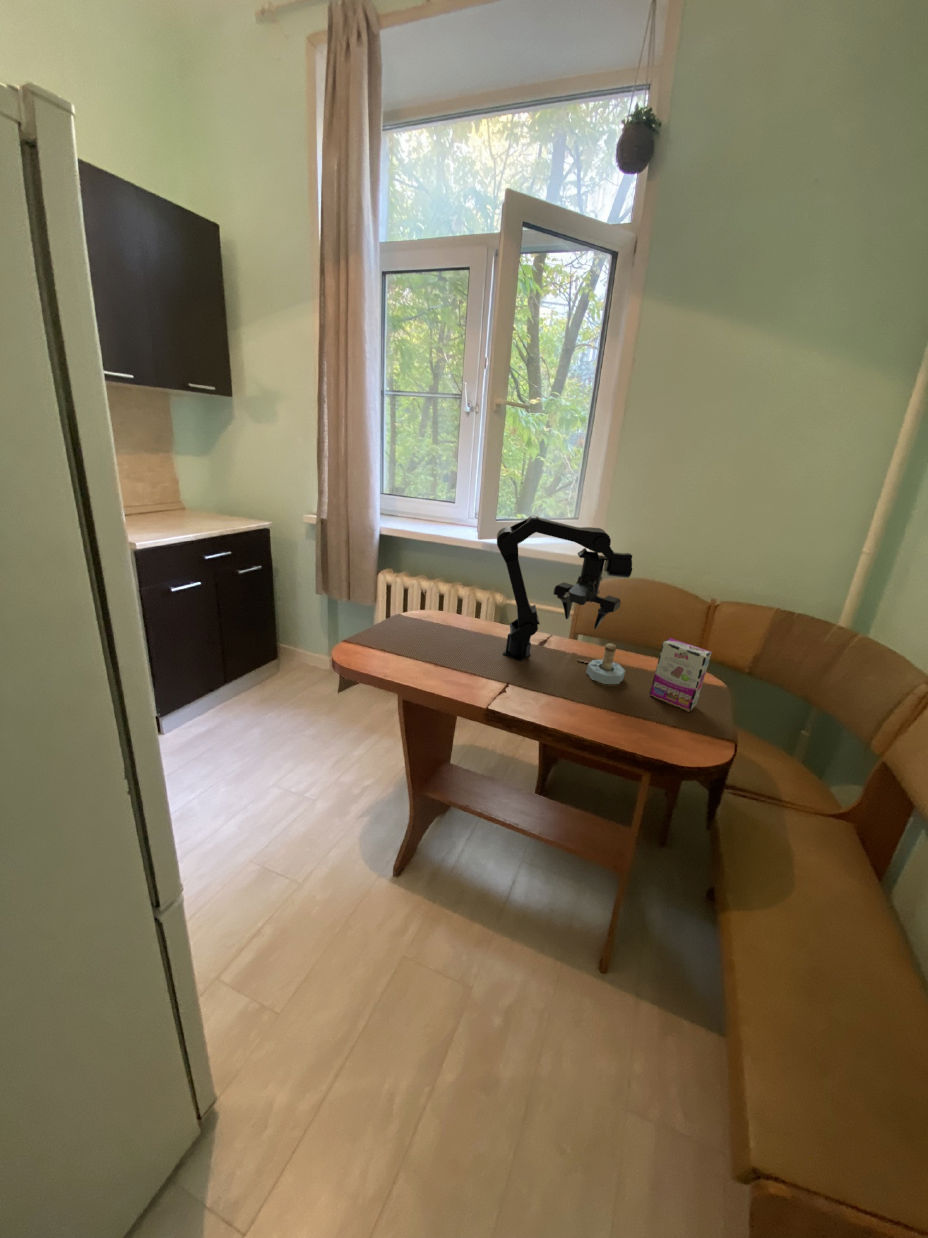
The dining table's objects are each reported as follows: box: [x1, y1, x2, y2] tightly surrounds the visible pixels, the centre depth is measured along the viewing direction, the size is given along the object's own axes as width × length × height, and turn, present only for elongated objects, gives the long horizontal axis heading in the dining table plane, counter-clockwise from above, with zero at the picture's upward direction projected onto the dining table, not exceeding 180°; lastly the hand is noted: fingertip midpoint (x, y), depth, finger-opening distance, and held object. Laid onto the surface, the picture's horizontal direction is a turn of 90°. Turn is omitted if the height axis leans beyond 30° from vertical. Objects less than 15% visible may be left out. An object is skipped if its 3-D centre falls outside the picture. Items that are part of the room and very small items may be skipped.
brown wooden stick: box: [577, 658, 591, 665], centre depth 146 cm, size 12×1×1 cm, turn 67°
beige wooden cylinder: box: [601, 643, 617, 671], centre depth 138 cm, size 3×3×10 cm
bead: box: [585, 659, 626, 685], centre depth 139 cm, size 10×10×3 cm
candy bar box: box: [649, 637, 712, 711], centre depth 127 cm, size 11×5×16 cm, turn 47°
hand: (580, 623), depth 144 cm, fingers open, 9 cm apart
